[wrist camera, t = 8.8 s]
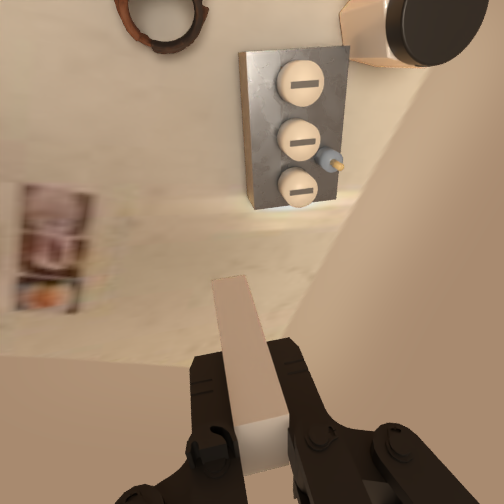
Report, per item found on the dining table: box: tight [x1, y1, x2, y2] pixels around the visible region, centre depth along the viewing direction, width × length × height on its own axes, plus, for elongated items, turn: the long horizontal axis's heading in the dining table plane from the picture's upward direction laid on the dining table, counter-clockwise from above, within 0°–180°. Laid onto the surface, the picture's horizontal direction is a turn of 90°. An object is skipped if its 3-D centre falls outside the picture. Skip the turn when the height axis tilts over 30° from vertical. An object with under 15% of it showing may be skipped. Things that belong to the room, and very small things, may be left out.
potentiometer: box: [315, 147, 344, 173], centre depth 37 cm, size 2×2×4 cm
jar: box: [339, 0, 489, 68], centre depth 32 cm, size 9×8×12 cm
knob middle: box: [277, 118, 320, 161], centre depth 37 cm, size 4×4×8 cm
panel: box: [238, 46, 350, 210], centre depth 39 cm, size 11×17×5 cm, turn 4°
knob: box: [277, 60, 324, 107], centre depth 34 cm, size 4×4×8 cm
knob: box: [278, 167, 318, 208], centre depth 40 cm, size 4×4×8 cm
